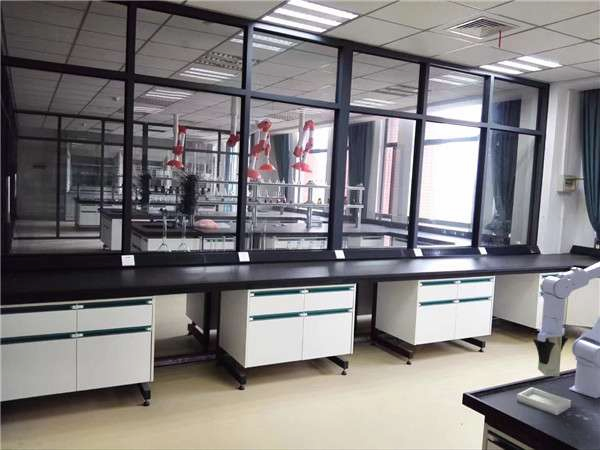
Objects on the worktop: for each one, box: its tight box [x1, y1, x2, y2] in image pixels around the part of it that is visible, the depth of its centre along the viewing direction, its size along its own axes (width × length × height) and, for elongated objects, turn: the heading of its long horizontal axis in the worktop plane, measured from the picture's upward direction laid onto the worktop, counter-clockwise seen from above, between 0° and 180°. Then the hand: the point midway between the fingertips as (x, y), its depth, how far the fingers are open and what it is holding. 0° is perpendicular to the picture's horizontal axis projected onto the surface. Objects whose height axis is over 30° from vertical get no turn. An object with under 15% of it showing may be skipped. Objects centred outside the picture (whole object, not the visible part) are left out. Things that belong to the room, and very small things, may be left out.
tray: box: [516, 386, 572, 416], centre depth 142 cm, size 9×11×2 cm
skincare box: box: [537, 336, 562, 377], centre depth 149 cm, size 6×4×12 cm
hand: (549, 360), depth 149 cm, fingers closed on skincare box, 7 cm apart
